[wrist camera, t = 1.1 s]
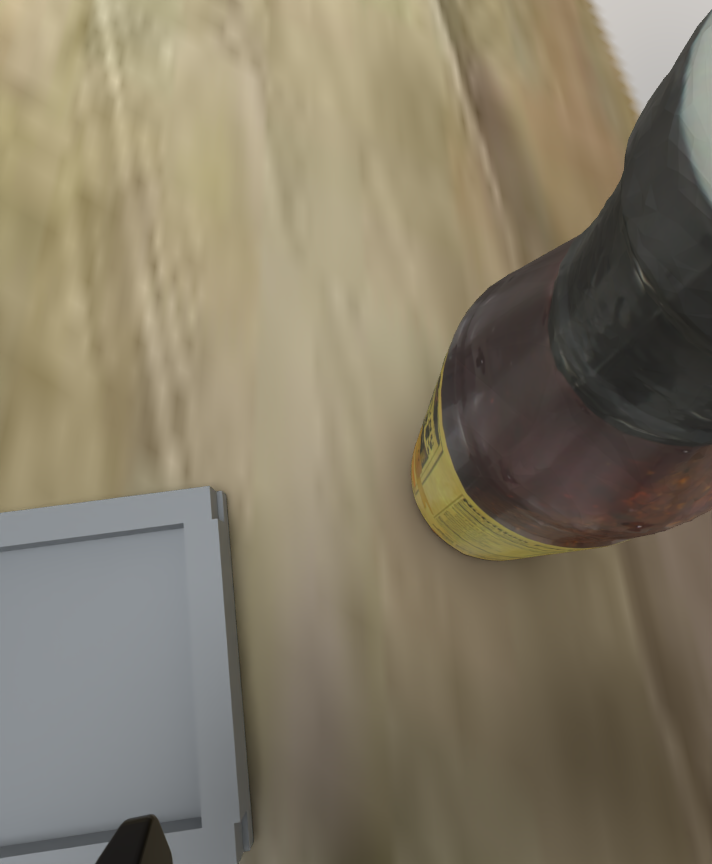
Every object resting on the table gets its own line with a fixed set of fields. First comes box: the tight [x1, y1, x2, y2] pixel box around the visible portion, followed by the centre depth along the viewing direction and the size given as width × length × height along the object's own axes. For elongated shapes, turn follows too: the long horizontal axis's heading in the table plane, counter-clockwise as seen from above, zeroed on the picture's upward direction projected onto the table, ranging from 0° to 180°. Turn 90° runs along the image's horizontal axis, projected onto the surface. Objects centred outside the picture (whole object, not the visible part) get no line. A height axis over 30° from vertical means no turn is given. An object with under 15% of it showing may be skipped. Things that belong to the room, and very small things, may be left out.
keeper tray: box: [0, 486, 254, 864], centre depth 22 cm, size 12×12×2 cm
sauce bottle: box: [411, 10, 712, 561], centre depth 15 cm, size 6×6×20 cm
